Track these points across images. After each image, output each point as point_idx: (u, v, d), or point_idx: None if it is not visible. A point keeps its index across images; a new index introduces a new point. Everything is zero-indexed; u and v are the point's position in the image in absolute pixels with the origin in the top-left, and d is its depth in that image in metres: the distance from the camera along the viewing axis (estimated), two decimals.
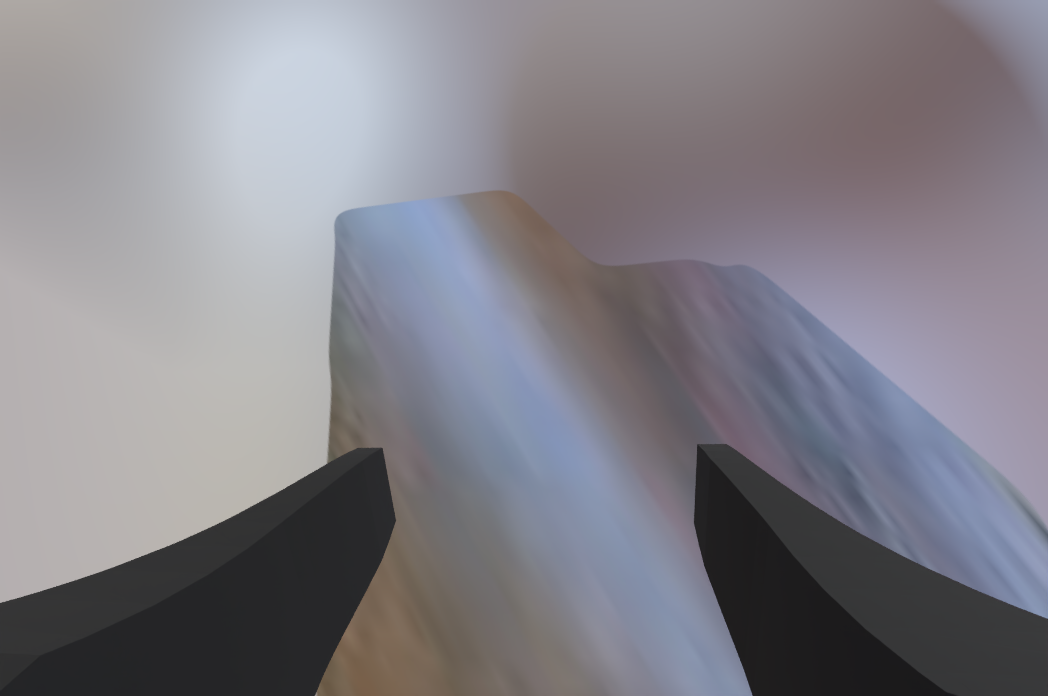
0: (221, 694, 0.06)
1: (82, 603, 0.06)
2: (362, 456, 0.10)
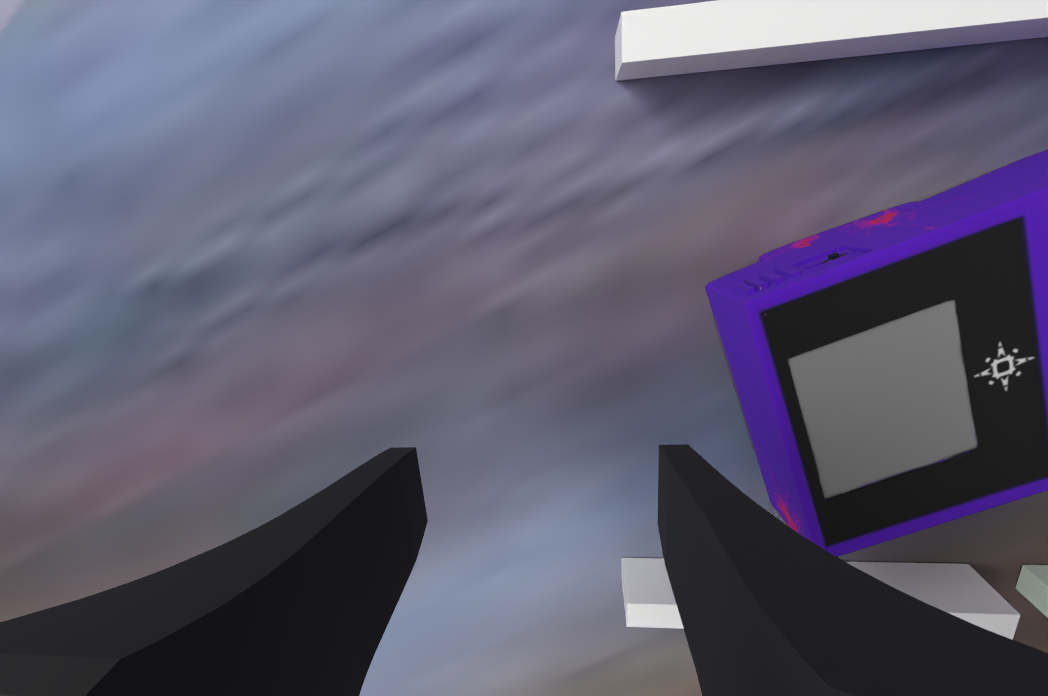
0: None
1: (146, 605, 0.05)
2: (398, 456, 0.10)
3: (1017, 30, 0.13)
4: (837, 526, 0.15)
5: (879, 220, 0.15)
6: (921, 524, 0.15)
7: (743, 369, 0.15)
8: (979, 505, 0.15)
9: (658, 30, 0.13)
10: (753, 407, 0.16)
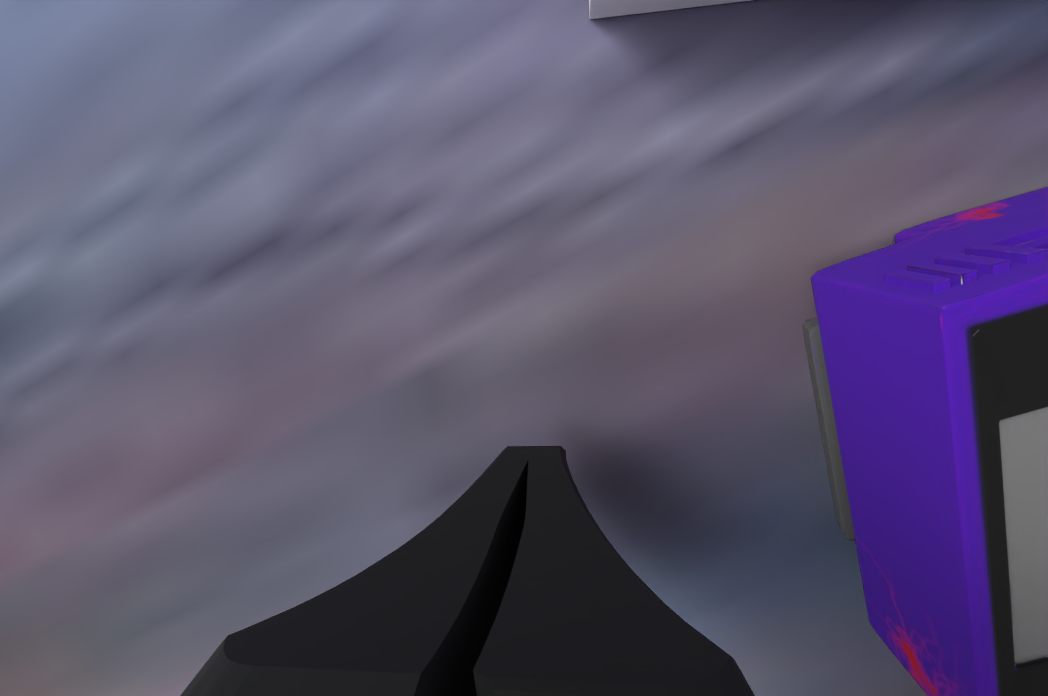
0: None
1: (376, 613, 0.05)
2: (523, 455, 0.10)
3: None
4: None
5: None
6: None
7: (878, 425, 0.09)
8: None
9: None
10: (883, 488, 0.09)
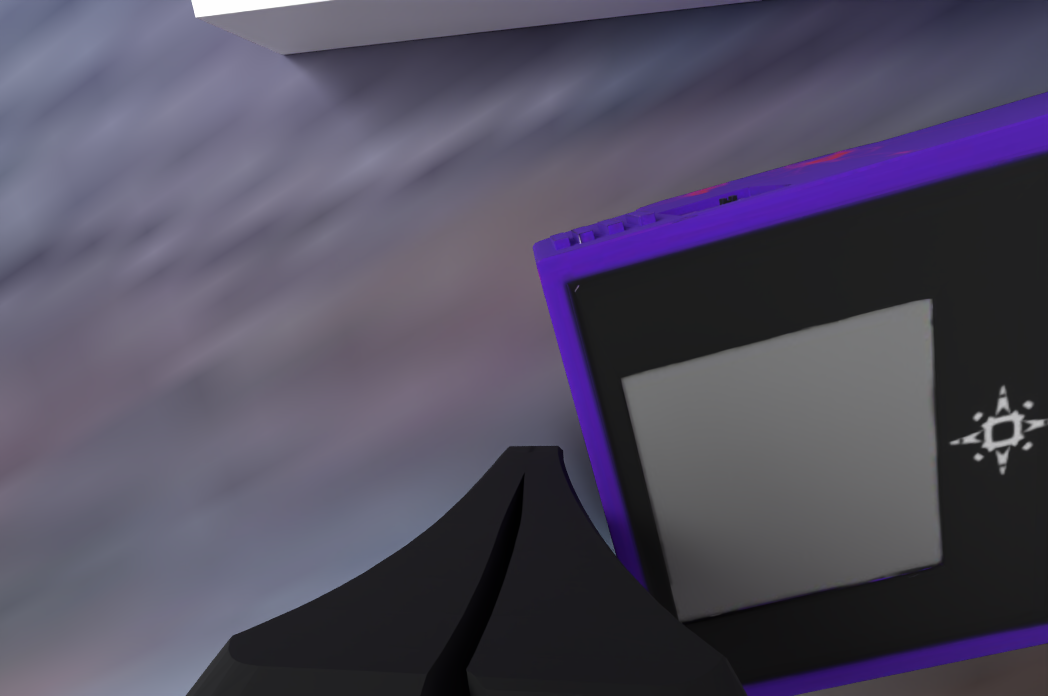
0: None
1: (380, 613, 0.05)
2: (526, 455, 0.10)
3: None
4: None
5: (822, 159, 0.09)
6: (835, 678, 0.09)
7: None
8: (933, 657, 0.09)
9: None
10: None
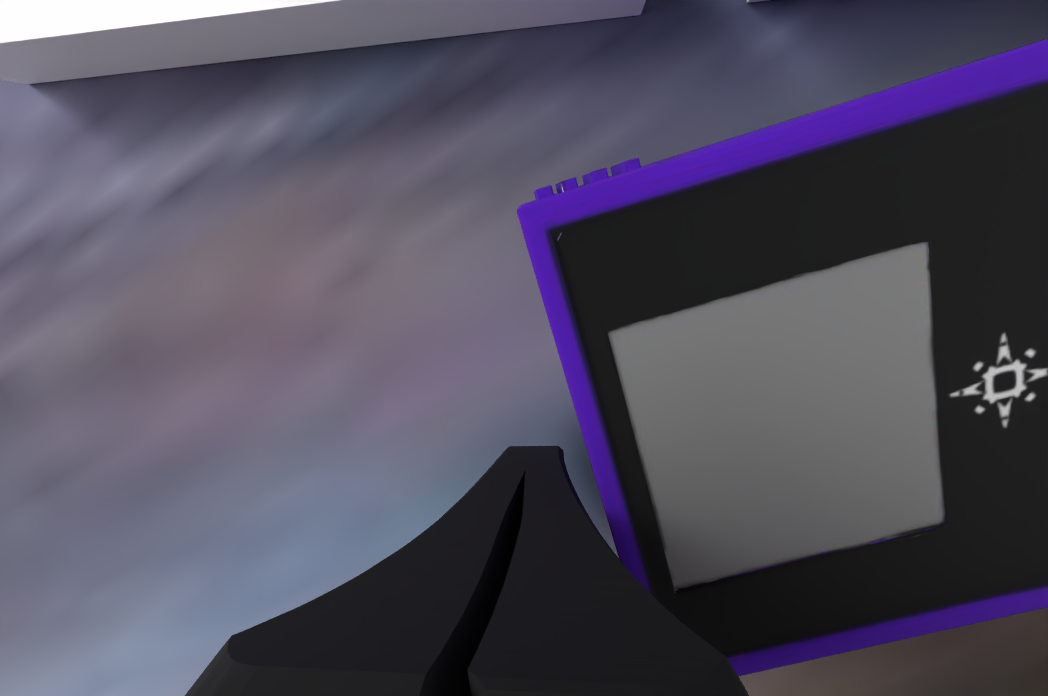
0: None
1: (379, 614, 0.05)
2: (526, 455, 0.10)
3: (456, 12, 0.09)
4: None
5: (814, 112, 0.09)
6: (836, 645, 0.09)
7: None
8: (937, 622, 0.08)
9: None
10: None
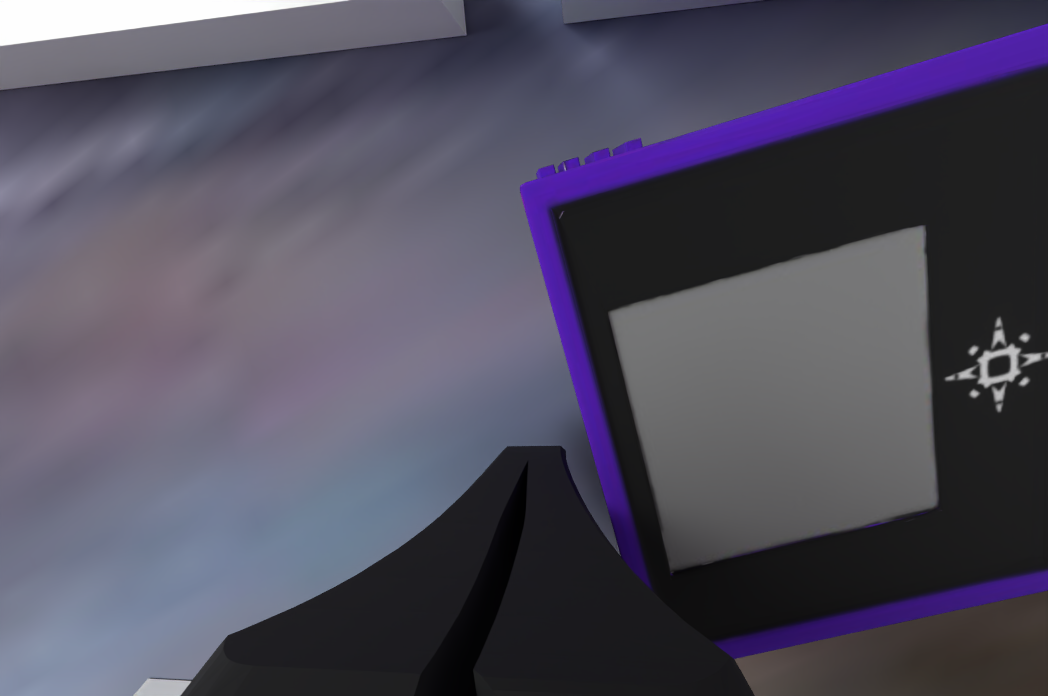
0: None
1: (376, 614, 0.05)
2: (523, 455, 0.10)
3: (274, 35, 0.09)
4: (690, 619, 0.09)
5: None
6: (830, 629, 0.09)
7: None
8: (930, 606, 0.09)
9: None
10: None
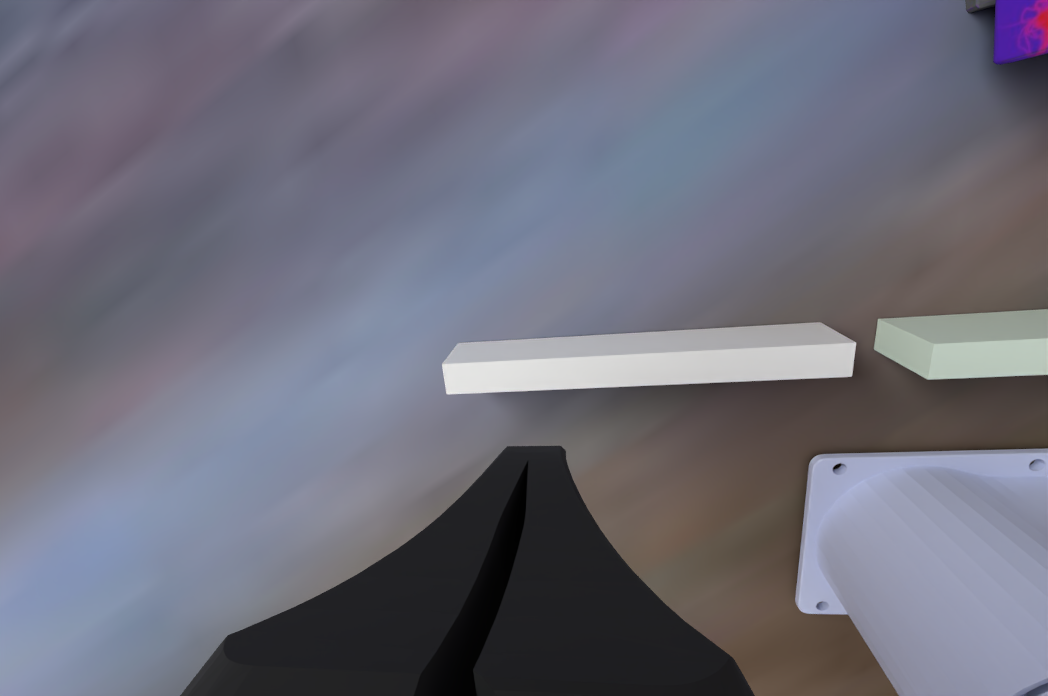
0: None
1: (376, 613, 0.05)
2: (524, 455, 0.10)
3: None
4: None
5: None
6: None
7: None
8: None
9: None
10: None
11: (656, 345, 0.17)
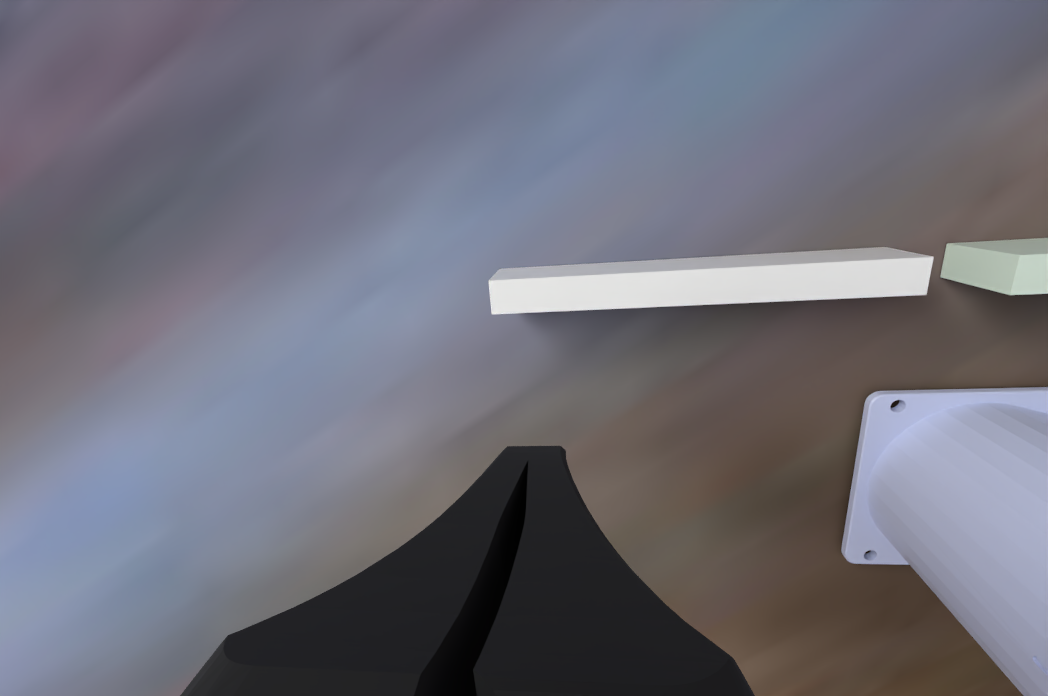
0: None
1: (376, 613, 0.05)
2: (523, 455, 0.10)
3: None
4: None
5: None
6: None
7: None
8: None
9: None
10: None
11: (715, 264, 0.17)
